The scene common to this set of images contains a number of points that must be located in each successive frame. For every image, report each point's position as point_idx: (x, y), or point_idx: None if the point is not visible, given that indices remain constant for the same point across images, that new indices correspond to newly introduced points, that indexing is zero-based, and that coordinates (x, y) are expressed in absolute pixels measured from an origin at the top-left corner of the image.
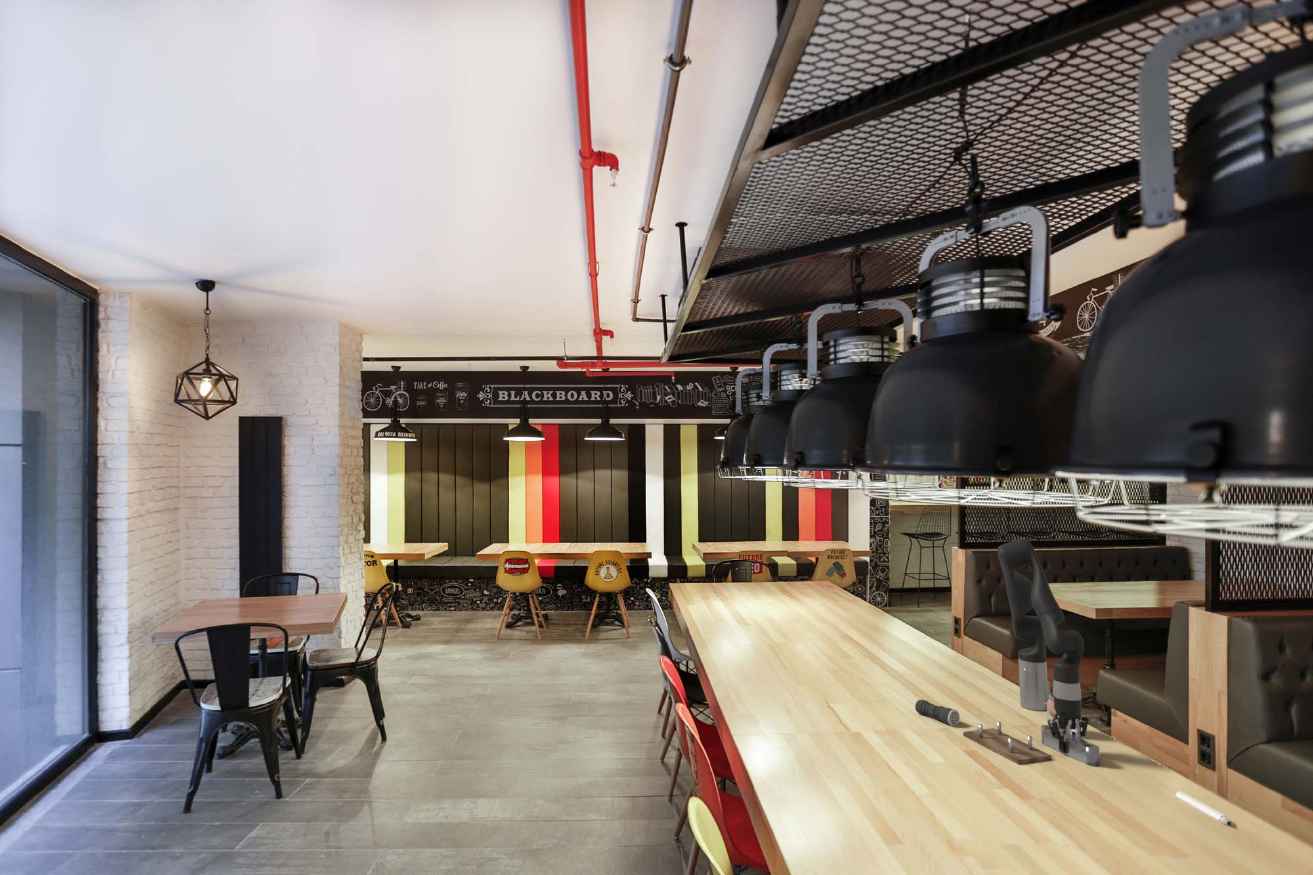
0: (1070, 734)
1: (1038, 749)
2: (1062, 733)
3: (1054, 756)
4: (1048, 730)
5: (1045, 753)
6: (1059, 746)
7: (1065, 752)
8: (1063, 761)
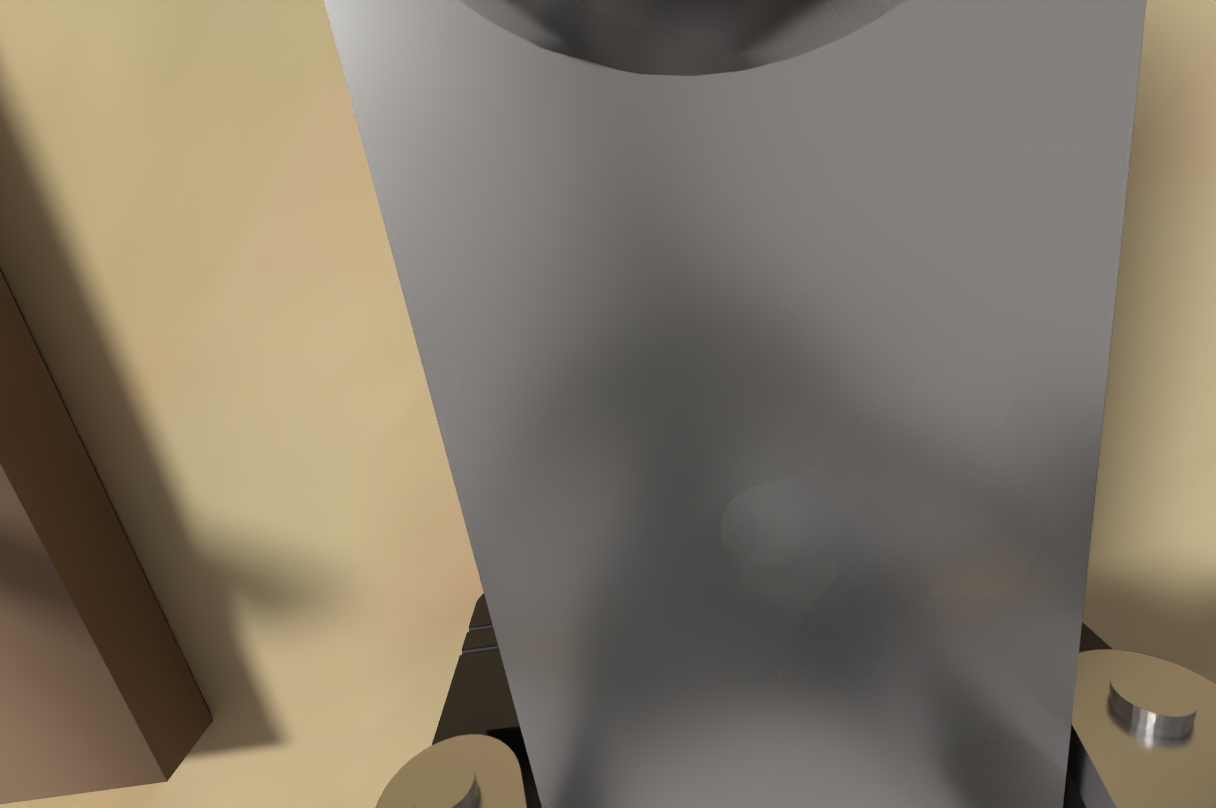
0: (1044, 735)
1: (29, 516)
2: (810, 613)
3: (338, 624)
4: (380, 138)
5: (99, 700)
6: (471, 647)
7: None
8: (376, 791)
